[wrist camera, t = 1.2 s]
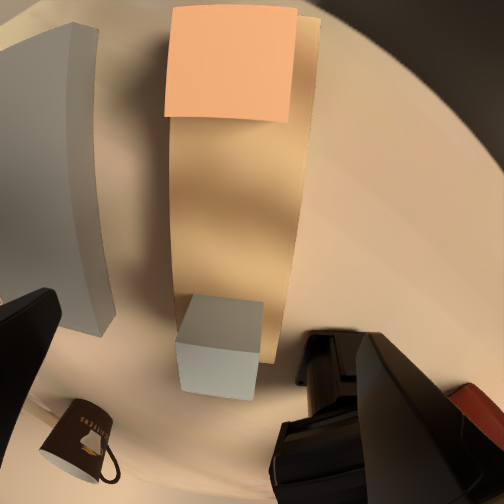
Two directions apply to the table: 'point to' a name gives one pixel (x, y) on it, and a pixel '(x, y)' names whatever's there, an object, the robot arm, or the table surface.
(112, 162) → the table surface
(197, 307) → the grey cube
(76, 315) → the dock
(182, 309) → the wooden block
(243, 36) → the orange cube
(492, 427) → the plant pot
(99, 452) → the coffee mug
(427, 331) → the table surface
